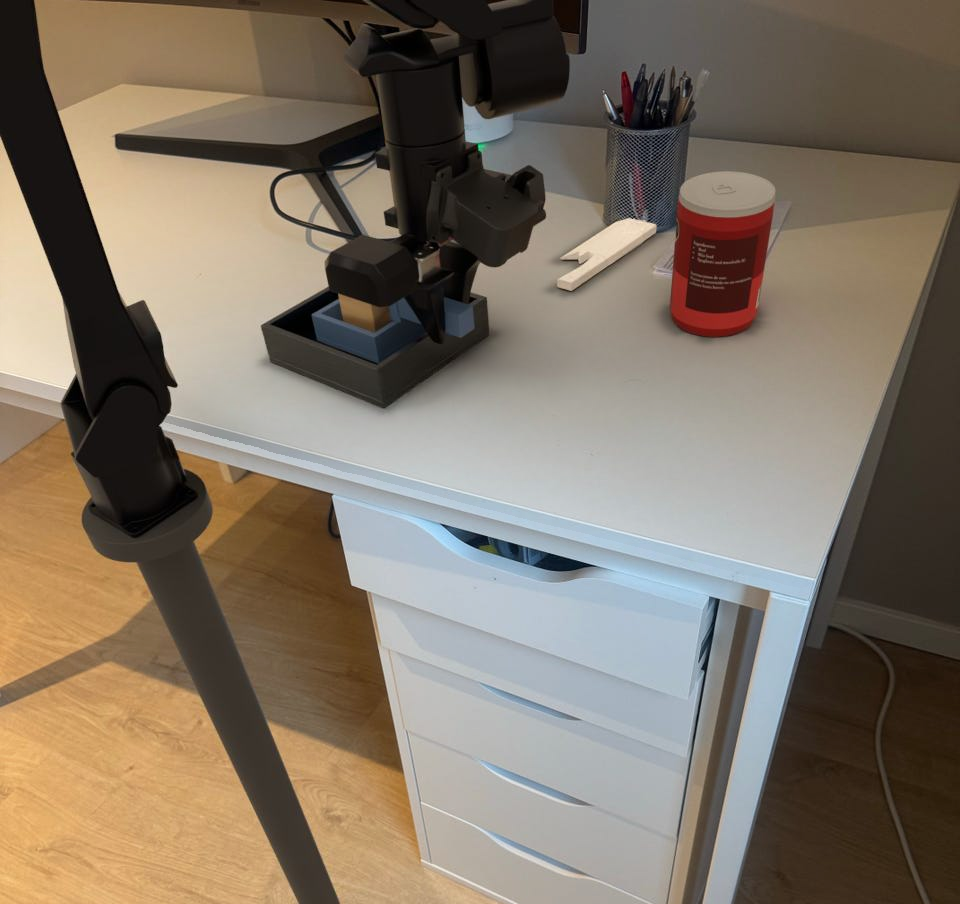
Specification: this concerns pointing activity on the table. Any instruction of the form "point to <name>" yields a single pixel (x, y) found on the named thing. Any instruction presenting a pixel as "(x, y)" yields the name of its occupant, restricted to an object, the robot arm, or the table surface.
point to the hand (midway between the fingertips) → (447, 337)
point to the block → (364, 314)
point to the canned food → (720, 251)
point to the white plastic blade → (605, 250)
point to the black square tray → (352, 374)
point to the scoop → (386, 329)
